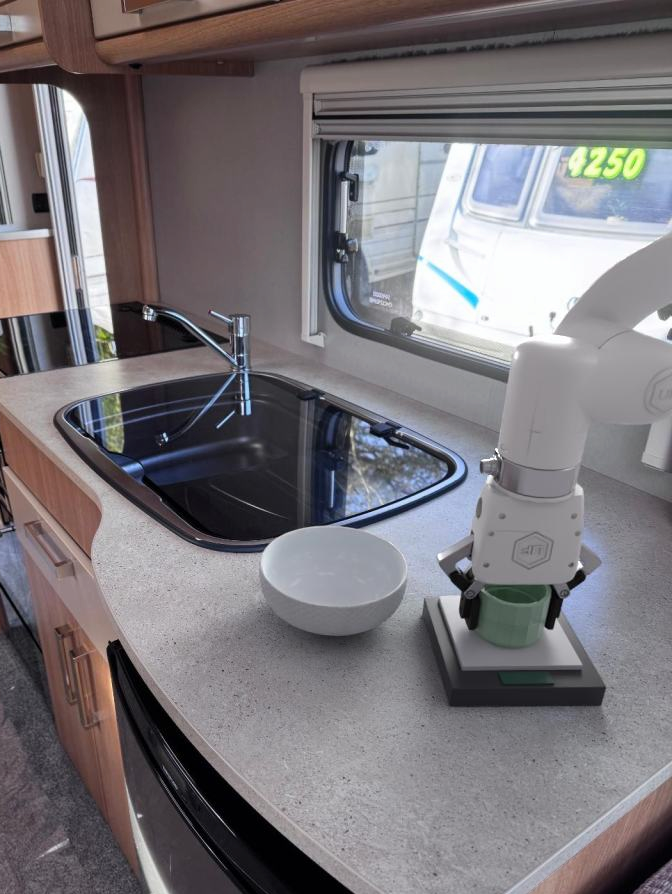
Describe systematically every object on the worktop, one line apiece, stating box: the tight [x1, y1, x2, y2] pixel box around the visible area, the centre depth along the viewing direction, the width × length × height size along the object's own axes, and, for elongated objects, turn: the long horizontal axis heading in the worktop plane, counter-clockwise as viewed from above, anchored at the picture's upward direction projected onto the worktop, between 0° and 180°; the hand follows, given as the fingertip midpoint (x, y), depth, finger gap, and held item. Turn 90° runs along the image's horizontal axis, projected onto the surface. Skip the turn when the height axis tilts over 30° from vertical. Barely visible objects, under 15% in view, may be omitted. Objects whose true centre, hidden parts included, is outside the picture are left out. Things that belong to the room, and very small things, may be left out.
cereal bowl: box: [258, 525, 409, 637], centre depth 82 cm, size 17×17×7 cm
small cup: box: [475, 584, 552, 648], centre depth 76 cm, size 7×7×6 cm
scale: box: [422, 595, 607, 708], centre depth 77 cm, size 15×15×3 cm
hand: (507, 621), depth 76 cm, fingers closed on small cup, 7 cm apart
